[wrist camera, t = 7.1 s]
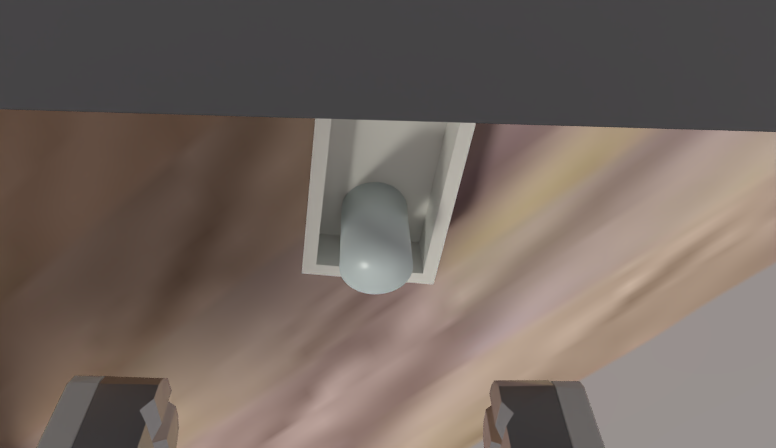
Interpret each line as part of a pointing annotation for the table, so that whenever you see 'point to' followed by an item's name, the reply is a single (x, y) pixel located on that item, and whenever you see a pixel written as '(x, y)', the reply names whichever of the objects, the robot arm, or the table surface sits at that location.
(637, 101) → the side table
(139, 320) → the table surface
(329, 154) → the tray
